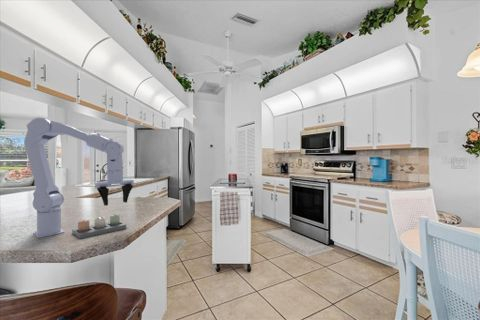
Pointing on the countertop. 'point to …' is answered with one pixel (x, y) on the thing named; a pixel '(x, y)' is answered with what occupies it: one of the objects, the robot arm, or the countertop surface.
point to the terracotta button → (83, 225)
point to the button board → (98, 230)
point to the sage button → (114, 219)
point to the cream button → (100, 222)
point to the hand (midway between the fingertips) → (115, 203)
